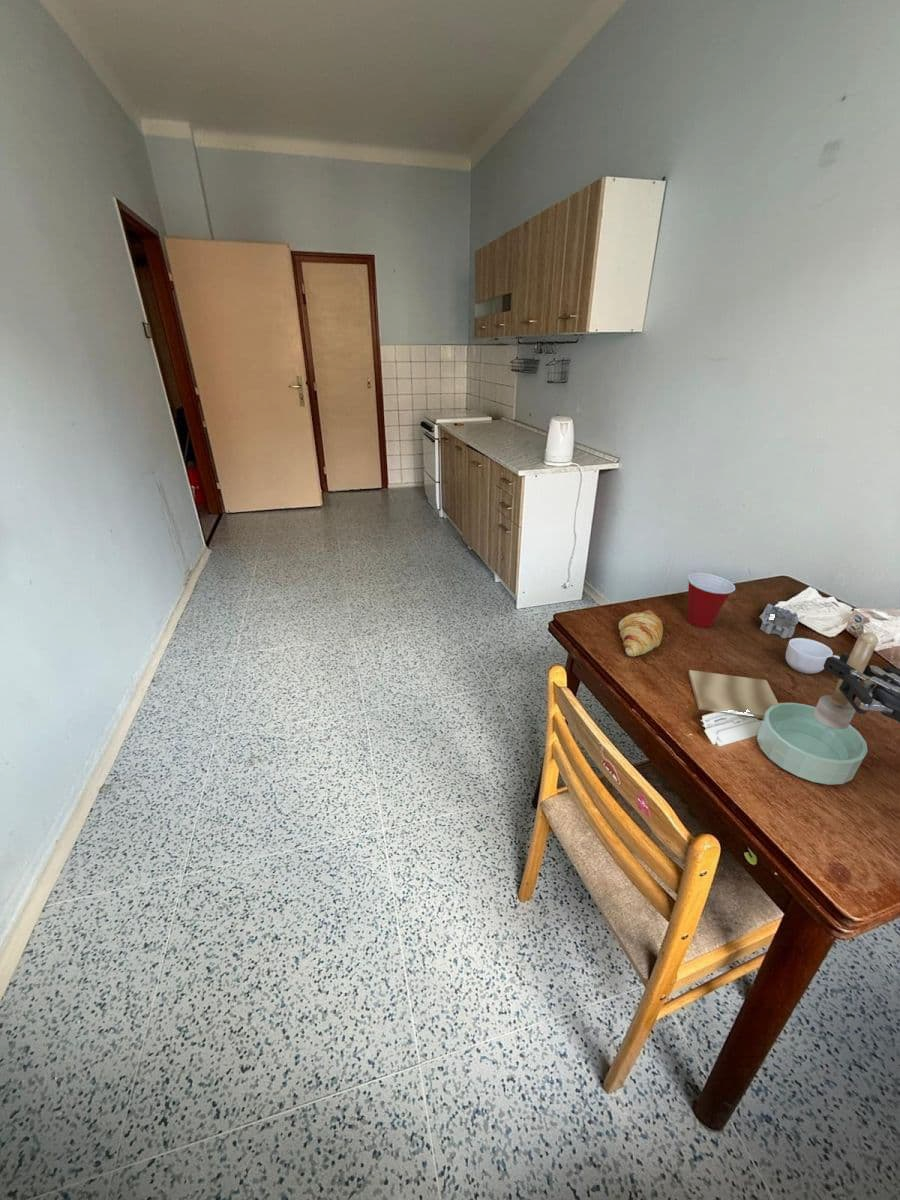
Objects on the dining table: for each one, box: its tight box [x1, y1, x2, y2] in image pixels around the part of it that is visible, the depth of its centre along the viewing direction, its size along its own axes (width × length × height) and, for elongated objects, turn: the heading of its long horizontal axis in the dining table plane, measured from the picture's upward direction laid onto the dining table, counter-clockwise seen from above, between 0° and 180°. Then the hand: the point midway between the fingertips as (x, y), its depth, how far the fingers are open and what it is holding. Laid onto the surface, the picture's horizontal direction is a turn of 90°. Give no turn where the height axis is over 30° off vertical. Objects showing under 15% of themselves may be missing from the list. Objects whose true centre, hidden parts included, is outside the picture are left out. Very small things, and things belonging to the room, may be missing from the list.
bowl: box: [756, 702, 869, 786], centre depth 81 cm, size 14×14×6 cm
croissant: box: [618, 609, 664, 658], centre depth 114 cm, size 21×10×8 cm, turn 150°
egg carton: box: [759, 603, 800, 639], centre depth 118 cm, size 11×8×4 cm
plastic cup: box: [686, 572, 736, 629], centre depth 119 cm, size 11×11×12 cm
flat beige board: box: [688, 669, 779, 720], centre depth 96 cm, size 15×12×1 cm
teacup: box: [785, 637, 840, 675], centre depth 102 cm, size 10×8×5 cm
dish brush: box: [813, 631, 879, 729], centre depth 72 cm, size 5×5×16 cm
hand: (834, 660), depth 74 cm, fingers closed on dish brush
